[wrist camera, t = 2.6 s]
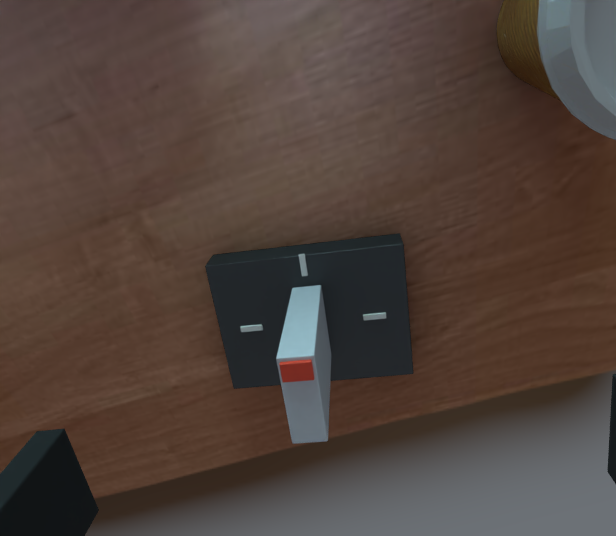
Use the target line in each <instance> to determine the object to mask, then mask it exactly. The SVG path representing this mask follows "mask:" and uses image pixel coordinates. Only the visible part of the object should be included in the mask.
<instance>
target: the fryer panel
mask: <svg viewBox="0 0 616 536" xmlns="http://www.w3.org/2000/svg"><path fill="white" fill-rule="evenodd" d="M205 268H206V272H207V276H208V280H209V285H210V289H211V293H212V297H213V302H214V306H215V310H216V314H217V319H218V323H219V327H220V332H221V336H222V340H223V344H224V349H225V353H226V357H227V361H228V366H229V370H230V374H231V378H232V383H233V387H234V389H237V388H249V387H261V386H273V385H281V381H280V376H279V371H278V366H277V361H276V357H277V353H278V349H279V344H280V340H281V335H282V331H283V327H284V322H285V318H286V314H287V309H288V305H289V300H290V296H291V292H292V288H296V287H306V286H315V285H321V287H322V294H323V300H324V307H325V314H326V321H327V328H328V335H329V342H330V349H331V377H330V381H333V380H345V379H358V378H370V377H382V376H394V375H406V374H413V362H412V349H411V336H410V323H409V310H408V297H407V283H406V270H405V257H404V244H403V241H402V239H401V236H400V234H391V235H382V236H374V237H365V238H356V239H348V240H339V241H330V242H321V243H313V244H304V245H295V246H286V247H278V248H269V249H260V250H251V251H243V252H234V253H225V254H216V255H213V256H212V257H211V259H210V260H209V261H208V263H207V264H206V266H205Z"/></svg>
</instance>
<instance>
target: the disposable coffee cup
mask: <svg viewBox="0 0 616 536" xmlns="http://www.w3.org/2000/svg"><path fill="white" fill-rule="evenodd" d="M497 41H498V47H499V50H500V54H501V57H502V59H503V60H504V62H505V64H506V66H507V67H508V68H509V69H510V70H511V71H512V72H513V73H514V74H515V76H516V77H518V78H520V79H521V80H523V81H524V82H526V83H528V84H530V85H532V86H534V87H536V88H538V89H540V90H542V91H543V92H545V93H547V94H549V95H551V96H553V97H555V98H557V99H558V100H560V101H562V102H563V104H564V105H565V106H566V107H567V109H568V110H569V111H570V113H571V114H572V115H574V116H575V117H576V118H578V119H579V120H580V121H581V122H583V123H584V124H585V125H586V126H588V127H589V128H591V129H593V130H594V131H596V132H598V133H600V134H602V135H604V136H607V137H609V138H612V139H614V140H616V0H504V2H503V4H502V7H501V10H500V14H499V18H498V24H497Z"/></svg>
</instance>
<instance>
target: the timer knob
mask: <svg viewBox="0 0 616 536" xmlns="http://www.w3.org/2000/svg"><path fill="white" fill-rule="evenodd" d="M276 361H277V366H278V371H279V376H280V381H281V386H282V392H283V397H284V402H285V407H286V412H287V418H288V423H289V428H290V433H291V438H292V443H293V444H294V443H309V442H323V441H328V428H329V403H330V377H331V349H330V342H329V335H328V328H327V321H326V314H325V307H324V300H323V294H322V287H321V285H315V286H306V287H296V288H292V292H291V296H290V300H289V305H288V309H287V314H286V318H285V322H284V327H283V331H282V335H281V340H280V344H279V349H278V353H277V357H276Z"/></svg>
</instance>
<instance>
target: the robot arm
mask: <svg viewBox="0 0 616 536" xmlns="http://www.w3.org/2000/svg"><path fill="white" fill-rule="evenodd" d="M608 473H609V474H610V476H611V477H612V479H613V481H614V482H615V483H616V374H613V381H612V399H611V418H610V437H609V456H608ZM98 510H99V509H98V507H97V505H96V502H95V500H94V498H93V495H92V493H91V491H90V488H89V486H88V483H87V481H86V479H85V476H84V474H83V472H82V469H81V467H80V465H79V462H78V460H77V457H76V455H75V453H74V450H73V448H72V446H71V443H70V441H69V439H68V436H67V434H66V431H65V429H57V430H47V431H37V432H36V433H35V434H34V435H33V437H32V438H31V439H30V440H29V441H28V442H27V443H26V445H25V446H24V447H23V448H22V449H21V450H20V452H19V453H18V454H17V455H16V456H15V457H14V459H13V460H12V461H11V462H10V463H9V464H8V466H7V467H6V468H5V469H4V470H3V471H2V473H1V474H0V536H85V534H86V532H87V530H88V528H89V527H90V525H91V523H92V521H93V520H94V518H95V516H96V514H97V513H98Z"/></svg>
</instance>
